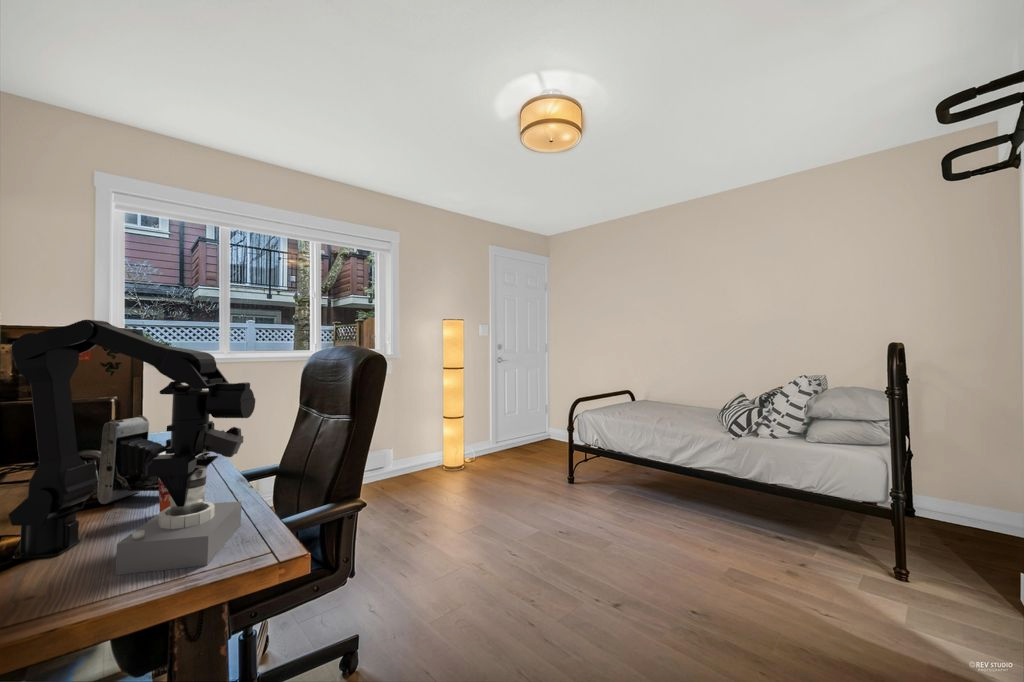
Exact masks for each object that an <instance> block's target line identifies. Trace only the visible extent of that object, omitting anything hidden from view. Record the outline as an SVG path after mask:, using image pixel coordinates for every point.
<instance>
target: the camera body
mask: <svg viewBox="0 0 1024 682" xmlns="http://www.w3.org/2000/svg"><path fill="white" fill-rule="evenodd" d="M241 522H242V501H241V500H239V501H226V502H214V503H213V502H210V501H209V502H208V501H205V504H204V510H203V511H200V512H198V513H193V514H188V515H180V516H170V506H169V507H168V508H166V509H164V510H163V511H161V512H160V511H159V513H158V514H156V515H155V516H154V517H152V518H151V519H150V520H148V521H147V522H146V523H144V524H143V525H141V526H140V527H138V528H137V529H136V530H135V531H132V533H130V534H129V535H127V536H126V537H125V538H123V539H122V540H120V541H119V542H118V543H116V557H115V560H116V561H115V575H117V576H119V575H129V574H135V573H136V574H137V573H147V572H156V571H164V570H177V569H184V568H195V567H205V566H208V565H210V563H211V562H212V560H213V559H214V558H216V557H215V556H217V554H218V553H219V552H220V551H221V549H222V548H223V547H224V546H225V545H226V543H228V541H229V540H230V538H232V536H233V535H234V533H235V532H237V530H238V529H239V528H240V526H241V525H242V523H241Z"/></svg>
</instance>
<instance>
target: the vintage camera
mask: <svg viewBox="0 0 1024 682" xmlns="http://www.w3.org/2000/svg"><path fill="white" fill-rule="evenodd" d="M149 431H150V421H149V419H148V418H147V417H146V416H144V415H137V417H130V418H124V419H119V420H116V419H112V418H111V419H110V420H109V422H105V423H104V424H103V426H102V432H101V434H102V435H101V442H100V443H101V446H100V457H99V468H98V470H99V471H98V479H97V480H98V483H97V494H96V495H97V499H98V503H100V504H102V505H106V504H110V503H113V502H115V501H118V500H121V499H124V498H127V497H130V496H132V495H134V494H137V493H140V492H159V477H156V476H148V477H147V476H145V466H146V464H147V463H148V462H149V461H151V460H152V459H154V458H156V457H158V456H159V454H160V453H162V452H164V451H166V448H168V447H171V438H168V439H166V440H165V444H166V445H162V444H161V443H159V442H158V441H157V442H155V441H153V440H149Z"/></svg>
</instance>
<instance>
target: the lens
mask: <svg viewBox="0 0 1024 682" xmlns="http://www.w3.org/2000/svg"><path fill="white" fill-rule="evenodd" d="M195 468H200V469H199V470H198V471H197V472H196V473H195V474H194V475H193V476H192V477H191V479H190V484H189V489H188V494H187V499H186V503H185V505H184V506H182V507H177V506H176V504H175V502H174V500H173V499H172V497H171V501H170V516H180V515H188V514H193V513H198V512H200V511H203V510H204V504H205V502H206V501H205V499H206V484H207V469H206V467H205V466H195Z"/></svg>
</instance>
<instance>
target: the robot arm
mask: <svg viewBox="0 0 1024 682" xmlns="http://www.w3.org/2000/svg"><path fill="white" fill-rule="evenodd" d="M97 346H99V347H101V348H104V349H107V350H110V351H113V352H116V353H118V354H122V355H124V356H126V357H129V358H133V359H135V360H138V361H140V362H144V363H146V364H148V365H150V366H152V367H154V368H155V369H156V370H157V371H158V372H159V373H160V374H162V375H163V376H164V377H166V378H168V379H171V380H172V381H169V383H168V385H165V387H163V388H162V389H161V390H159V391H158V393H159V394H160V395H172V405H171V406H172V407H171V424H168V425H167V426H166V432H171V433H170V434H171V435H170V439H171V447H168V448H166V454H165V455H160V456H158V457H156V458H154V459H152V460H151V461H149V462H148V463H147V464H146V466H145V476H147V477H148V476H156V477H159V479H160V480H161V482H162V483H163V484H164V486H165V487H166V489H167V490H168V492H169V494H170V495H171V497H172V499H173V500H174V502H175V504H176V506H177V507H182V506H184V505H185V503H186V499H187V494H188V489H189V484H190V479H191V477H192V476H193V475H194V474H195V473H196V472H197V471H198V470H199V469H200V468H195V466H205V467H206V470H207V469H208V467H209V466H210V465H211V464H212V463H213V462H214V461H215V460H217V459H219V456H218V454H219V455H221V456H222V457H225V458H232V457H233V456H234V455H235V454H236V455H237V454H238V452H239V449H240V447H241V445H242V444H243V443H244V435H242V429H241V427H237V426H231V427H230V428H229V429H228V430H226V431H225V430H224V429H222V430H219V429H215V422H214V421H213V420H210V415H211V416H212V418H214V419H249V418H250V417H251V416H252V415H253V413H254V412H255V411H254V410H255V409H256V408H255V406H256V397H255V395H254V392H253V390H252V388H251V383H250V382H247V381H246V382H238V383H235V382H234V383H232V382H231V383H229V381H228V380H227V378H226V377H225V375H223V373H222V371H221V370H220V369H219V368H218V366H217V362H216V360H215V356H213V355H212V354H210V353H209V352H206V351H200V350H195V349H190V348H184V347H175V346H171V345H168V344H165V343H162V342H159V341H157V340H153V339H151V338H148V337H146V336H142V335H140V334H137V333H136V332H135V333H134V332H131V331H128V330H126V329H123V328H121V327H118V326H115V325H112V324H111V323H109V322H108V321H104V320H96V319H82V320H79V321H76V322H74V323H71V324H69V325H64V326H59V327H55V328H54V327H53V328H51V329H47V330H42V331H40V332H35V333H34V332H29V333H24V334H23V335H21V336H18V338H17V339H16V340H15V341H13V342H12V344H11V349H10V351H11V355H12V357H13V361H14V364H15V368H16V370H17V371H18V373H20V374H21V376H23V377H24V378H25V379H26V381H27V382H29V385H30V388H31V389H30V390H31V397H32V398H31V399H32V408H33V415H34V416H33V417H34V424H35V425H34V426H35V436H36V442H37V443H36V445H37V452H38V454H37V455H38V465H37V467H36V469H35V470H34V472H33V474H32V475H31V477H30V480H29V481H28V490H27V491H28V492H27V493H28V494H27V498H26V499H24V500H23V501H22V502H20V504H19V505H18V506H17V507H15V508H14V509H13V510H12V511H11V512H9V513H8V519H9V521H10V523H11V526H13V527H14V526H15V527H16V526H17V527H18V526H20V536H19V537H20V539H19V540H20V541H19V553H24V554H23V555H22V556H20V557H21V559H20V560H26V559H27V560H28V559H38V558H49V557H57V556H60V555H61V554H63V553H65V552H66V551H68V550H69V549H71V548H73V547H74V546H76V545H77V544H80V543H81V541H82V538H79V527H80V521H79V520H77V510H81V509H83V508H84V506H85V505H86V502H87V500H88V499H89V497H91V495H92V494H94V491H95V489H96V487H95V486H96V484H98V480H99V479H97V476H96V468H97V467H96V464H95V462H93V461H92V462H89V463H86V462H85V461H84V460H83V459H82V458H81V457H80V456H79V453H78V444H77V443H78V442H77V435H76V426H75V416H74V415H75V414H74V409H73V398H72V392H71V391H72V389H71V379H72V376H73V375H74V373H75V372H76V369H77V368H78V366H79V360H80V355H81V354H85V353H86V352H88V351H91V350H93V349H95V348H96V347H97ZM207 389H208V390H207ZM211 453H215V454H216V455H211ZM12 558H15V555H13V556H12V557H11V559H12Z"/></svg>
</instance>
